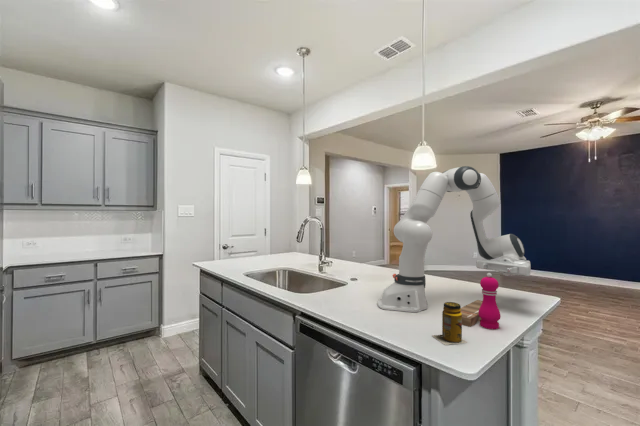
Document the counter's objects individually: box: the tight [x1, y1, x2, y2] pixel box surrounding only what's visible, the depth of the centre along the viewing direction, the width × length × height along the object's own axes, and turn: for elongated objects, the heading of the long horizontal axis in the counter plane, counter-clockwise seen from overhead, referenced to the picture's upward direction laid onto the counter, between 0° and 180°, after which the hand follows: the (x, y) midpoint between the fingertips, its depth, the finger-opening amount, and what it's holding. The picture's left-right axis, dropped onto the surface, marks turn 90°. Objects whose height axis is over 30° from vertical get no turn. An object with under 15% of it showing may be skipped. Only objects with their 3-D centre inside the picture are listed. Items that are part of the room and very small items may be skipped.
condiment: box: [431, 301, 468, 346], centre depth 102 cm, size 7×8×12 cm
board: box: [460, 299, 483, 328], centre depth 125 cm, size 28×8×3 cm, turn 132°
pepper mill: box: [478, 272, 502, 330], centre depth 113 cm, size 7×7×20 cm
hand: (496, 268), depth 126 cm, fingers open, 8 cm apart
